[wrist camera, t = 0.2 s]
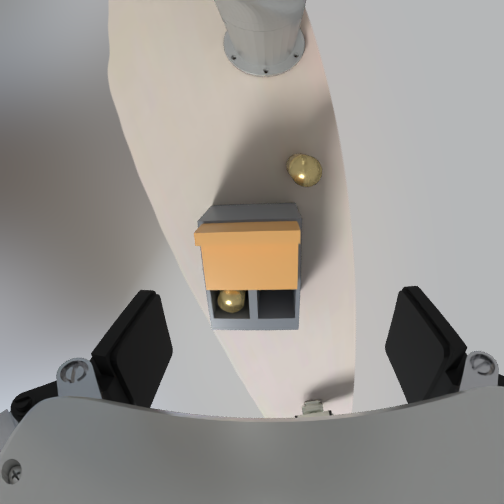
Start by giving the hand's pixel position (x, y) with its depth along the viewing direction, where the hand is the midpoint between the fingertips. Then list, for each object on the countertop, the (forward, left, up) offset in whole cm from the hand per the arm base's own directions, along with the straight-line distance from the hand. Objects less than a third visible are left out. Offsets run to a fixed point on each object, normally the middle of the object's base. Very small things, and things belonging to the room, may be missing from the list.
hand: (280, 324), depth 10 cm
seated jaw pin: (+16, -7, -36) cm, 40 cm away
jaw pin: (-3, +4, -36) cm, 36 cm away
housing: (+12, -3, -36) cm, 38 cm away
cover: (+8, -3, -26) cm, 27 cm away
